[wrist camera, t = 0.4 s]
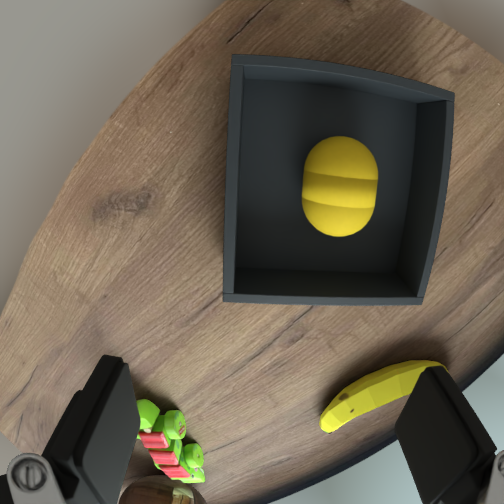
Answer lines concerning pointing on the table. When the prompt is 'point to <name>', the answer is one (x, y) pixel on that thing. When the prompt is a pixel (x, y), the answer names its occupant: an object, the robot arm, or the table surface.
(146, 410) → the toy crocodile
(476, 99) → the table surface
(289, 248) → the crate
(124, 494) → the wooden sphere
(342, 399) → the banana
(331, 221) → the yellow rounded tiered object
